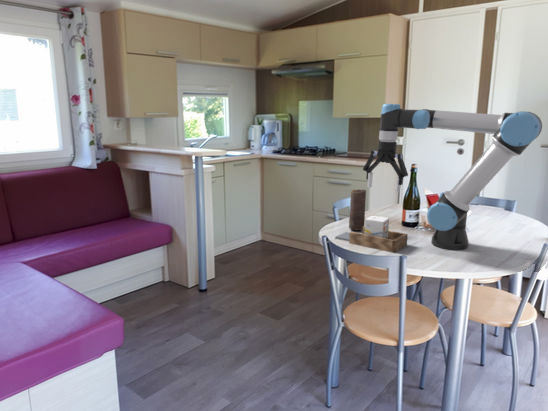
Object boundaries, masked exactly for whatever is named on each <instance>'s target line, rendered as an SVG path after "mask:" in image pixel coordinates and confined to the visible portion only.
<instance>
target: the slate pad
mask: <svg viewBox="0 0 548 411" xmlns="http://www.w3.org/2000/svg"><path fill="white" fill-rule="evenodd" d="M334 239H335V240H341V241H346V242H349V241H350V232H348V231H345V232H343V233H340V234H338V235H336V236H334Z"/></svg>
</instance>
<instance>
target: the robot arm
mask: <svg viewBox="0 0 548 411" xmlns="http://www.w3.org/2000/svg"><path fill="white" fill-rule="evenodd" d="M399 128H403V129H415V130H425V129H440V130H449V131H458V132H459V131H460V132H470V133H471V132H472V133H477V134H478V133H479V134H487V135H488V134H490V135H492V137H491V138H492V143H491V144H490V145H489V146H488V147H487V148H486V149H485V150H484V152H483V153H482V154H481V155H480V156H479V158H478V159H477V160H476V161H475V162H474V163H473V165H472V166H470V168H469V170H467V172H466V173H465V174H464V175H463V176H462V178H460V179H459V181H458V182H457V183H456V184H455V186H453V187H452V189H450V190H445V191H444V192H440V194H439V196H438V199H437V200H436V201H435V202H434V203H433V204H431V205H430V206H429V208H428V210H427V213H426V217H427V221H428V223H429V225H430V226H431V227H432V228H434V229H435V230H434V232H433V234H432V236H431V242H430V243H431V244H432V245H433V246H434V247H436V248H441V249H445V250H452V251H453V250H454V251H456V250H457V251H459V250H465V249H467V248H469V239H468V234H467V230H466V229H467V228H466V227H467V218H468V212H469V211H470V204H471V203H472V202H473V200H474V199H475V198H476V197H477V196H478V195H479V194H480V193H482V191H483V190H484V188H485V187H486V186H487V185H488V184H489V183H490V182H491V181H492V180H493V178H494V177H495V176H496V175H497V174H498V173H499V172H500V171H501V170H502V168H504V167H505V166H506V165H507V163H508V162H509V161H510V160H512V158H513V157H516V156H520V155H521V154H522V153H523V152H524V151H525V150H526V149H527V148H528V147H529V146H530V145H531V144H532V142H534V141H535V140H536V139H537V138H538V137H540V134H541V133H542V129H543V122H542V120H541V118H540V117H539V116H538V114H535V113H534V112H531V111H516V112H504V113H502V114H492V113H480V112H478V113H477V112H466V111H465V112H464V111H449V110H437V109H436V110H435V109H426V108H423V109H404V108H401V104H399V103H383V105H382V107H381V112H380V126H379V135H378V140H379V141H378V146H377V149H378V150H375V149H374V150H371V152H370V155H369V157H368V159H367V161H366V163H365V165H364V166H363V168H362V171H365V172H366V178H365V179H366V180H367V183H366V184H367V185H366V188H372V187H373V178H374V173H373V170H374V169H376V167H377V166H379V164H381V163H385V164H389V165H390V166H391V167H392V168H393V170H394V171H395V173H396V175H397V176H398V177H396V183H395V193H396V194H397V193H400V192H401V186H402V185H403V183H404V178H405V177H408V176H409V172H408V170H407V168H406V164H405V161H404V159H403V158H404V156H403V155H404V154H403V153H396V151H397V141H398V133H399ZM376 156H377V157H378V158H376ZM375 158H376V159H375ZM395 158H396V159H395ZM374 159H375V161H374ZM396 160H397V161H396ZM397 162H398V163H397Z"/></svg>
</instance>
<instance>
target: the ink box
mask: <svg viewBox="0 0 548 411" xmlns="http://www.w3.org/2000/svg"><path fill="white" fill-rule="evenodd" d="M364 226H365V231H364V234H365V235H370V236H376V237H381V238H386V239H388V230H389V226H390V217H385V216H381V215H380V216H379V215H370V216H368V217H365V221H364Z"/></svg>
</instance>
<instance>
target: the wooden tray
mask: <svg viewBox="0 0 548 411" xmlns="http://www.w3.org/2000/svg"><path fill="white" fill-rule="evenodd" d="M361 231H362V232H361V233H360V232H355V231H350V232H349V233H350V241H348V243H349V244H352V245H356V246H362V247H365V248H369V249H370V248H371V249H376V250H378V251H379V250H380V251H384V252H388V253H393V254H395V253H396V252H398V251H399V250H401V249H403V248H404V247H406V246H407V244H408V236H409V235H408V233H404V232H398V231H395V230H394V231H392V230H389V229H388V239H386V238H381V237H376V236H370V235H365V234H364V231H365V225H364V226H363V230H361Z"/></svg>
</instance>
